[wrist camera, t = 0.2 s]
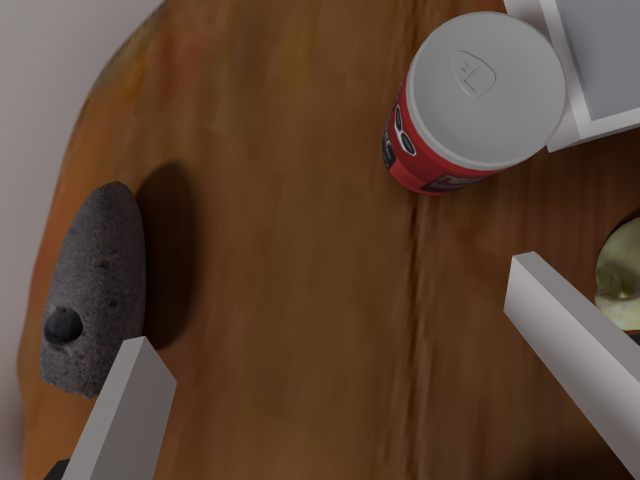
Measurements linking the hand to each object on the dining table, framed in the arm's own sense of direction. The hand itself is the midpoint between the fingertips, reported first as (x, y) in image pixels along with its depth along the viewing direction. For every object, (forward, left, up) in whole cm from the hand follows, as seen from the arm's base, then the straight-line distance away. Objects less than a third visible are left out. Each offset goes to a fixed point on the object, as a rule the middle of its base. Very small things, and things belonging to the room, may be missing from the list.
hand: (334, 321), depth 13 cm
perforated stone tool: (+5, +16, -16) cm, 23 cm away
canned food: (+8, -10, -16) cm, 20 cm away
